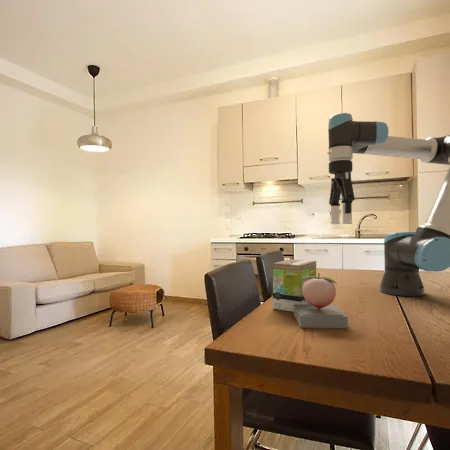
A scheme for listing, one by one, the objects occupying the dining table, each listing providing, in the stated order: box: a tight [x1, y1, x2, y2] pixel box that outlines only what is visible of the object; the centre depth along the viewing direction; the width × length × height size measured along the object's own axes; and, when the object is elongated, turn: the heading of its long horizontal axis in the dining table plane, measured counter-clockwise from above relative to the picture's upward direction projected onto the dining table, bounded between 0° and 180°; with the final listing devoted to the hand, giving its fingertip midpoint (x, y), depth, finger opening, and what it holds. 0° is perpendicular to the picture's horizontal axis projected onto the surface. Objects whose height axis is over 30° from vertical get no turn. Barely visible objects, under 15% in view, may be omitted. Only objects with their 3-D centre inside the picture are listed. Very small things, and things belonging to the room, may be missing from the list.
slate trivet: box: [293, 304, 349, 329], centre depth 88 cm, size 12×12×3 cm
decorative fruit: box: [302, 273, 338, 309], centre depth 88 cm, size 9×8×10 cm
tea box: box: [272, 259, 317, 313], centre depth 104 cm, size 15×10×15 cm
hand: (340, 224), depth 107 cm, fingers open, 13 cm apart
